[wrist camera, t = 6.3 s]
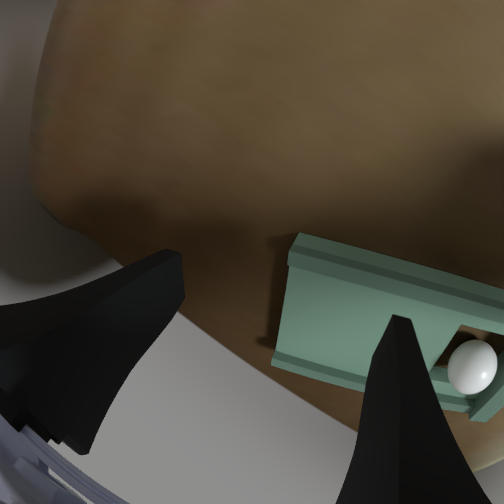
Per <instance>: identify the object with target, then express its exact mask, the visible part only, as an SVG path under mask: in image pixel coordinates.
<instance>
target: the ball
mask: <svg viewBox="0 0 504 504" xmlns="http://www.w3.org/2000/svg"><path fill="white" fill-rule="evenodd" d="M496 370H497V357H496V354H495V351H494V350H493V348H492V347H491V346H490V345H489V344H488V343H486V342H484V341H482V340H469V341H466V342H464V343H463V344H461V345H460V346H458V347H457V348H456V349H455V351H454V352H453V353H452V355H451V357H450V359H449V362H448V369H447V372H448V378H449V381H450V383H451V385H452V386H453V387H454V388H455V389H456V390H457V391H459V392H460V393H463V394H475V393H478V392H480V391H482V390H484V389H485V388H486V387H487V386H488V385H489V384H490V383H491V382H492V380H493V378H494V376H495V374H496Z"/></svg>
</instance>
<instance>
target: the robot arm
mask: <svg viewBox="0 0 504 504" xmlns="http://www.w3.org/2000/svg"><path fill="white" fill-rule="evenodd" d="M184 298H185V292H184V282H183V272H182V261H181V253H179V252H175V251H172V250H169V249H165V250H162V251H159V252H157V253H154V254H152V255H150V256H148V257H145V258H143V259H141V260H139V261H137V262H135V263H132V264H130V265H128V266H126V267H124V268H121V269H119V270H117V271H115V272H113V273H111V274H108V275H106V276H104V277H101V278H99V279H96V280H94V281H91V282H89V283H87V284H84V285H82V286H79V287H76V288H73V289H70V290H68V291H65V292H61V293H58V294H55V295H51V296H47V297H44V298H39V299H36V300H31V301H26V302H21V303H16V304H9V305H1V306H0V504H87V503H86V502H85V501H84V500H83V499H82V498H81V497H80V496H79V495H78V494H76V493H75V492H74V491H73V490H71V489H70V488H69V487H67V486H66V485H64V484H63V483H61V482H60V481H59V480H57V479H56V478H54V477H53V476H51V475H50V474H49V473H48V467H49V468H50V469H51V470H52V471H54V472H55V473H56V474H57V475H58V476H59V477H61V478H62V479H63V480H64V481H66V482H67V483H68V484H69V485H71V486H72V487H73V488H74V489H76V490H77V491H78V492H80V493H81V494H83V495H84V496H85V497H86V498H88V499H89V500H90V501H92V502H93V503H95V504H129V503H128V502H126V501H124V500H123V499H121V498H120V497H118V496H116V495H115V494H113V493H112V492H110V491H109V490H107V489H106V488H104V487H103V486H101V485H100V484H99V483H97V482H96V481H94V480H93V479H91V478H90V477H88V476H87V475H86V474H84V473H83V472H82V471H81V470H79V469H78V468H77V467H75V466H74V465H73V464H72V463H70V462H69V461H68V460H66V459H65V458H64V457H63V456H62V455H60V454H59V453H58V452H57V451H56V450H54V449H53V448H52V447H51V446H50V445H48V444H47V443H48V441H49V440H50V439H52V440H53V441H54V442H55V443H57V444H60V443H61V442H64V443H65V444H66V445H67V446H68V447H70V448H71V449H72V450H74V451H75V452H76V453H77V454H79V455H86V454H89V451H90V448H91V446H92V444H93V441H94V439H95V436H96V434H97V432H98V429H99V427H100V425H101V423H102V421H103V419H104V417H105V415H106V413H107V411H108V409H109V407H110V405H111V404H112V402H113V400H114V398H115V397H116V395H117V393H118V391H119V390H120V388H121V386H122V385H123V383H124V381H125V380H126V378H127V377H128V375H129V373H130V372H131V370H132V369H133V368H134V366H135V365H136V363H137V362H138V361H139V360H140V358H141V357H142V356H143V355H144V353H145V352H146V351H147V350H148V349H149V347H150V346H151V345H152V344H153V342H154V341H155V340H156V339H157V338H158V336H159V335H160V334H161V333H162V331H163V330H164V329H165V328H166V326H167V325H168V323H169V322H170V321H171V320H172V318H173V317H174V315H175V314H176V312H177V310H178V309H179V307H180V305H181V304H182V302H183V300H184ZM336 504H492V503H491V502H490V500H489V499H488V497H487V496H486V494H485V493H484V492H483V490H482V488H481V486H480V485H479V483H478V482H477V480H476V478H475V476H474V475H473V473H472V471H471V469H470V468H469V466H468V464H467V462H466V460H465V458H464V456H463V454H462V452H461V450H460V448H459V447H458V445H457V443H456V440H455V438H454V436H453V434H452V432H451V430H450V427H449V425H448V423H447V420H446V418H445V416H444V413H443V411H442V408H441V406H440V403H439V400H438V398H437V395H436V392H435V390H434V387H433V384H432V381H431V378H430V375H429V372H428V369H427V367H426V364H425V361H424V358H423V355H422V351H421V348H420V345H419V342H418V339H417V336H416V332H415V329H414V326H413V323H412V320H411V319H410V318H406V317H403V316H399V315H395V314H392V317H391V319H390V321H389V323H388V325H387V327H386V329H385V331H384V333H383V336H382V338H381V340H380V342H379V344H378V346H377V348H376V350H375V351H374V353H373V355H372V359H371V363H370V368H369V372H368V376H367V380H366V385H365V392H364V398H363V405H362V411H361V418H360V424H359V430H358V435H357V441H356V445H355V450H354V453H353V457H352V460H351V463H350V466H349V469H348V472H347V475H346V478H345V481H344V483H343V486H342V489H341V491H340V494H339V496H338V499H337V501H336Z"/></svg>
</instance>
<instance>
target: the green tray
mask: <svg viewBox="0 0 504 504" xmlns="http://www.w3.org/2000/svg"><path fill="white" fill-rule="evenodd" d="M287 265H289V273H288V279H287V286H286V292H285V298H284V304H283V310H282V316H281V322H280V328H279V334H278V340H277V345H276V351H275V353H274V355H273V357H272V362H271V365H272V366H275V367H278V368H281V369H284V370H287V371H291V372H294V373H297V374H300V375H304V376H307V377H310V378H314V379H317V380H320V381H324V382H327V383H331V384H335V385H338V386H342V387H346V388H349V389H353V390H357V391H361V392H365V385H366V380H367V376H368V372H369V368H370V363H371V359H372V355H373V353H374V351H375V350H376V348H377V346H378V344H379V342H380V340H381V338H382V336H383V333H384V331H385V329H386V327H387V325H388V323H389V321H390V319H391V317H392V314H395V315H399V316H403V317H406V318H410V319H411V320H412V323H413V326H414V329H415V332H416V336H417V339H418V342H419V345H420V348H421V351H422V355H423V358H424V361H425V364H426V367H427V369H428V372H429V375H430V378H431V381H432V384H433V387H434V390H435V392H436V395H437V398H438V400H439V403H440V406H441V408H442V409H445V410H451V411H457V412H463V413H469V420H472V421H479V422H487V421H488V420H489V419H490V418H491V417H492V416H493V415H495V414H496V413H497V412H498V411H499V410H500V409H501V408H502V407H503V406H504V349H503V351H502V352H501V353H500V355H499V356H498V357H497V370H496V374H495V376H494V378H493V380H492V382H491V383H490V384H489V385H488V386H487V387H486V388H485V389H484V390H482V391H480V392H478V393H475V394H463V393H460V392H459V391H457V390H456V389H455V388H454V387H453V386H452V385H451V383H450V381H449V378H448V372H447V368H443V367H438V366H434V364H435V363H436V361H437V360H438V358H439V357H440V355H441V354H442V353H443V351H444V350H445V348H446V347H447V345H448V344H449V342H450V341H451V339H452V337H453V336H454V334H455V333H456V331H457V330H458V328H459V326H460V325H461V324H462V325H466V326H470V327H474V328H478V329H482V330H486V331H489V332H493V333H497V334H501V335H504V290H503V289H500V288H497V287H494V286H491V285H487V284H484V283H481V282H477V281H474V280H471V279H468V278H464V277H461V276H457V275H454V274H451V273H447V272H444V271H440V270H437V269H434V268H430V267H427V266H423V265H420V264H416V263H413V262H409V261H405V260H402V259H398V258H395V257H391V256H387V255H384V254H380V253H376V252H373V251H369V250H365V249H362V248H358V247H354V246H350V245H347V244H343V243H339V242H335V241H332V240H328V239H324V238H320V237H316V236H312V235H308V234H304V233H300V232H299V234H298V236H297V237H296V239H295V241H294V243H293V245H292V247H291V248H290V250H289V255H288V262H287Z"/></svg>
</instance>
